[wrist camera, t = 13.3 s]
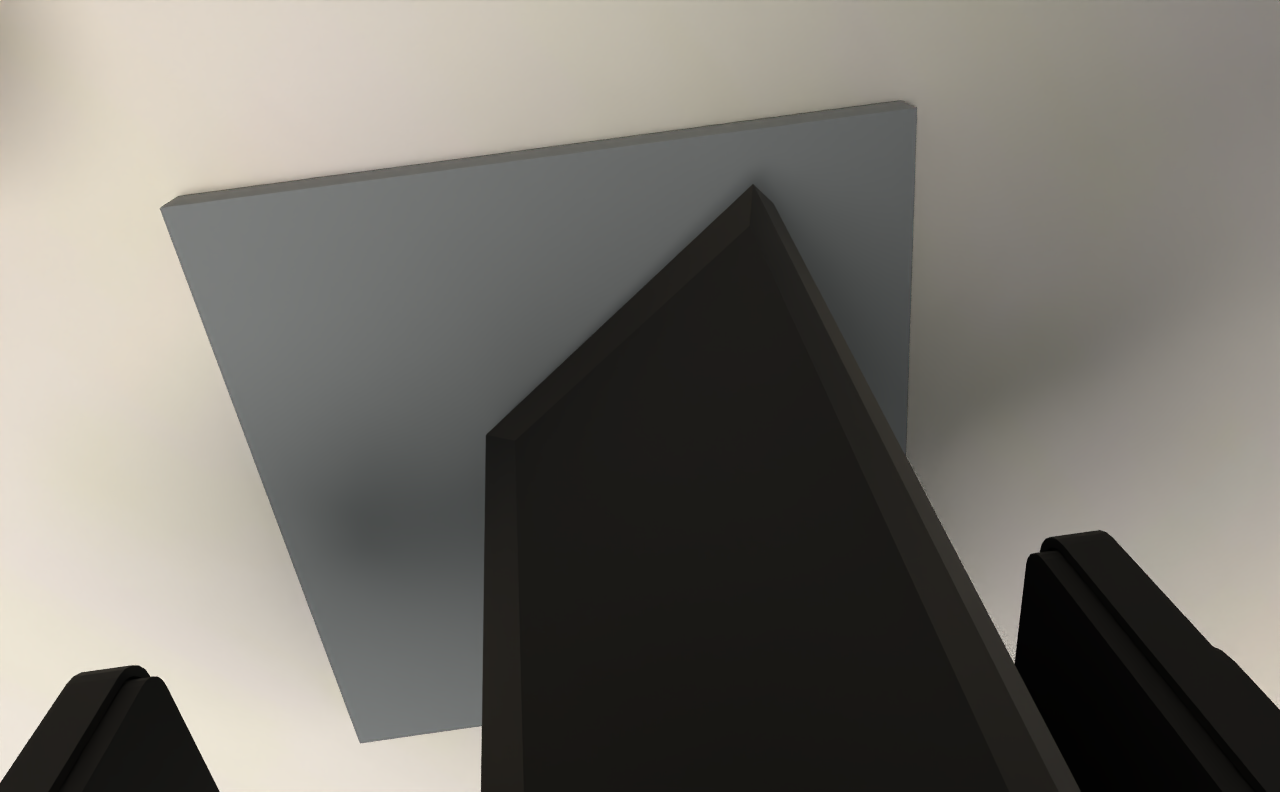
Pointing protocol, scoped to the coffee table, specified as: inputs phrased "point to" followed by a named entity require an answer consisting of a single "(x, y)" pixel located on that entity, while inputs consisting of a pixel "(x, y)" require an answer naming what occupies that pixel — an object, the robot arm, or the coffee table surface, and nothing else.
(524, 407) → the speaker
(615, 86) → the coffee table surface
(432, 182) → the mat
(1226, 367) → the coffee table surface
